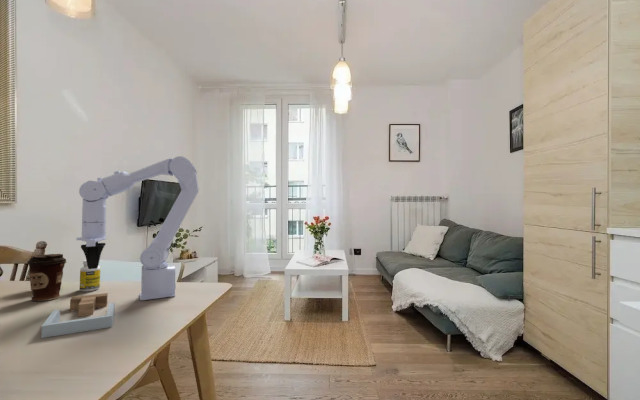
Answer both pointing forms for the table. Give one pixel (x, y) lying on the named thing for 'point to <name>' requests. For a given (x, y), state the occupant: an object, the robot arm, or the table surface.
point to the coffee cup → (46, 276)
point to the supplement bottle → (89, 278)
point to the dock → (76, 323)
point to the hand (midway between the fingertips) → (93, 268)
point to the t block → (88, 303)
